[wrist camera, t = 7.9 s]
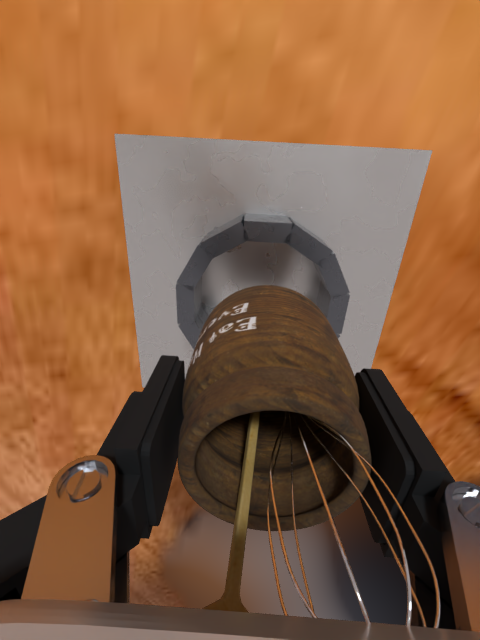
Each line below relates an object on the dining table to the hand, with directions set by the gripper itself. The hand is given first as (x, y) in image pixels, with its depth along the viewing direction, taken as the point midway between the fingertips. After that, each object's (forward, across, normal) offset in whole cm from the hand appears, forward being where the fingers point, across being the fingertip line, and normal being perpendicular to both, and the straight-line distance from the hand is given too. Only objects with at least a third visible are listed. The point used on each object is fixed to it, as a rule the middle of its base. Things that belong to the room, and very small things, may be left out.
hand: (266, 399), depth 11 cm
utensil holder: (+4, 0, 0) cm, 4 cm away
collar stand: (+12, 0, 0) cm, 12 cm away
